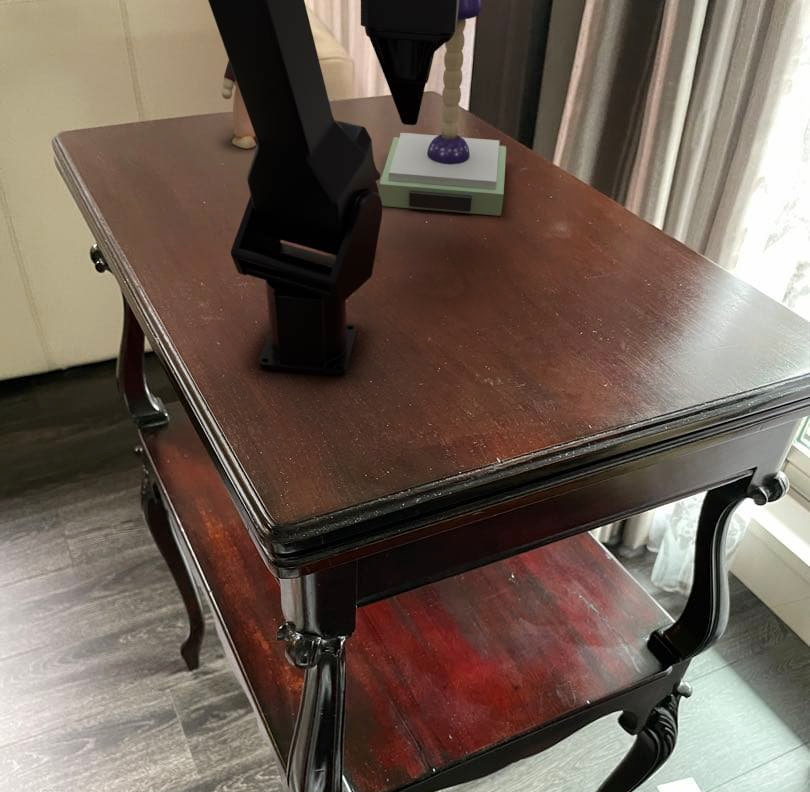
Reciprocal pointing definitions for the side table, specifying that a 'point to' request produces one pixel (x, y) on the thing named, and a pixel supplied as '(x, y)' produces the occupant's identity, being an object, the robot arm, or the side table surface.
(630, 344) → the side table surface
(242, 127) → the grandmother figurine
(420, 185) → the scale
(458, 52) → the toy lamp
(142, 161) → the side table surface
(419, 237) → the side table surface
